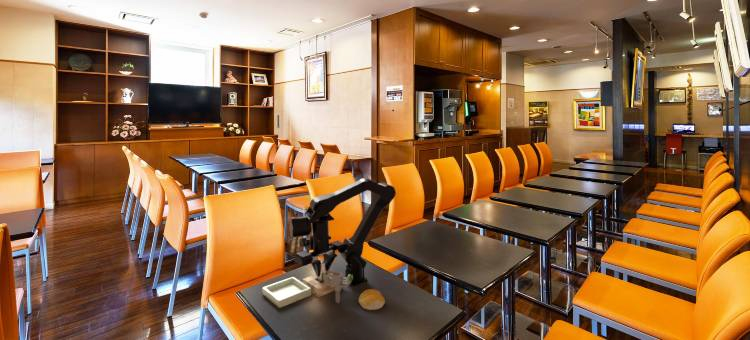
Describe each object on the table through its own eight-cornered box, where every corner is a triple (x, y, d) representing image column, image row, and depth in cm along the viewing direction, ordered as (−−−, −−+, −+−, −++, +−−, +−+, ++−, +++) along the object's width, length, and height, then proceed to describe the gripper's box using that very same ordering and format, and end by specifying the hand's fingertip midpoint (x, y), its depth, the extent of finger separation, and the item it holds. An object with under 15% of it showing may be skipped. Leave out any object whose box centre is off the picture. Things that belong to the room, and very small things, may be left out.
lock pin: (323, 282, 130) (322, 259, 129) (328, 285, 128) (327, 262, 127) (316, 285, 128) (315, 261, 127) (321, 288, 126) (320, 264, 125)
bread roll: (378, 294, 123) (378, 284, 122) (387, 308, 115) (387, 296, 114) (355, 298, 121) (355, 287, 120) (362, 312, 112) (362, 300, 112)
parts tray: (293, 282, 132) (293, 276, 131) (311, 295, 123) (311, 288, 122) (262, 294, 124) (262, 287, 123) (279, 308, 115) (278, 300, 114)
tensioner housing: (326, 277, 135) (325, 270, 135) (342, 287, 128) (341, 279, 127) (303, 286, 129) (302, 279, 128) (318, 297, 121) (318, 289, 121)
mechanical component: (351, 305, 116) (351, 277, 114) (321, 302, 118) (320, 274, 116) (354, 301, 119) (353, 272, 117) (324, 298, 121) (323, 270, 119)
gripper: (329, 222, 137) (330, 260, 140) (285, 233, 125) (287, 275, 127) (347, 229, 129) (347, 269, 131) (301, 242, 116) (303, 286, 119)
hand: (322, 275), depth 127 cm, fingers closed on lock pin, 3 cm apart
